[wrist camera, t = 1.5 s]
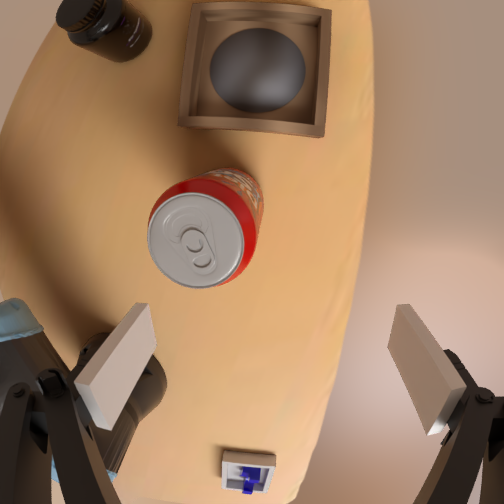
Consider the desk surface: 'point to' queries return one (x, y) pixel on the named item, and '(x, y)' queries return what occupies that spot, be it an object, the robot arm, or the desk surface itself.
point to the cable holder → (249, 478)
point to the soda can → (206, 228)
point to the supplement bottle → (105, 27)
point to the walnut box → (256, 68)
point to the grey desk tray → (236, 460)
